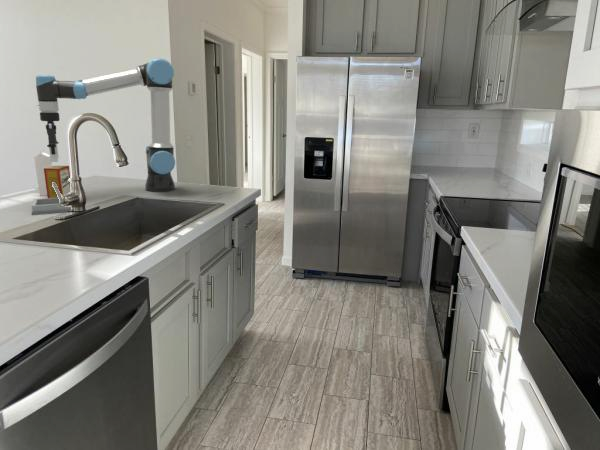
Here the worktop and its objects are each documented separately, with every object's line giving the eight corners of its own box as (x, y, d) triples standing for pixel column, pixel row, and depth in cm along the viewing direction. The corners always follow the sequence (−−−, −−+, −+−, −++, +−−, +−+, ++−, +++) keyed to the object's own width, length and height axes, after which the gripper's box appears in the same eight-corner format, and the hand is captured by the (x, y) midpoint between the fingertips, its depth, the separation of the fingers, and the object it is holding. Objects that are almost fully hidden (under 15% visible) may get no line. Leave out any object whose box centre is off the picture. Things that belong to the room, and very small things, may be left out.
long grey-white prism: (39, 196, 216) (32, 150, 210) (42, 193, 222) (35, 149, 216) (53, 195, 218) (47, 150, 212) (56, 193, 224) (49, 148, 218)
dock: (72, 203, 202) (72, 196, 201) (73, 211, 188) (72, 203, 187) (34, 206, 195) (33, 198, 194) (32, 214, 181) (30, 206, 180)
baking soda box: (62, 202, 203) (58, 167, 199) (48, 202, 203) (43, 167, 199) (72, 198, 213) (68, 164, 208) (59, 198, 213) (54, 164, 208)
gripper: (41, 111, 206) (46, 157, 212) (37, 112, 185) (44, 163, 191) (59, 111, 210) (64, 156, 215) (58, 112, 188) (63, 163, 194)
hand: (54, 160), depth 203 cm, fingers open, 13 cm apart
